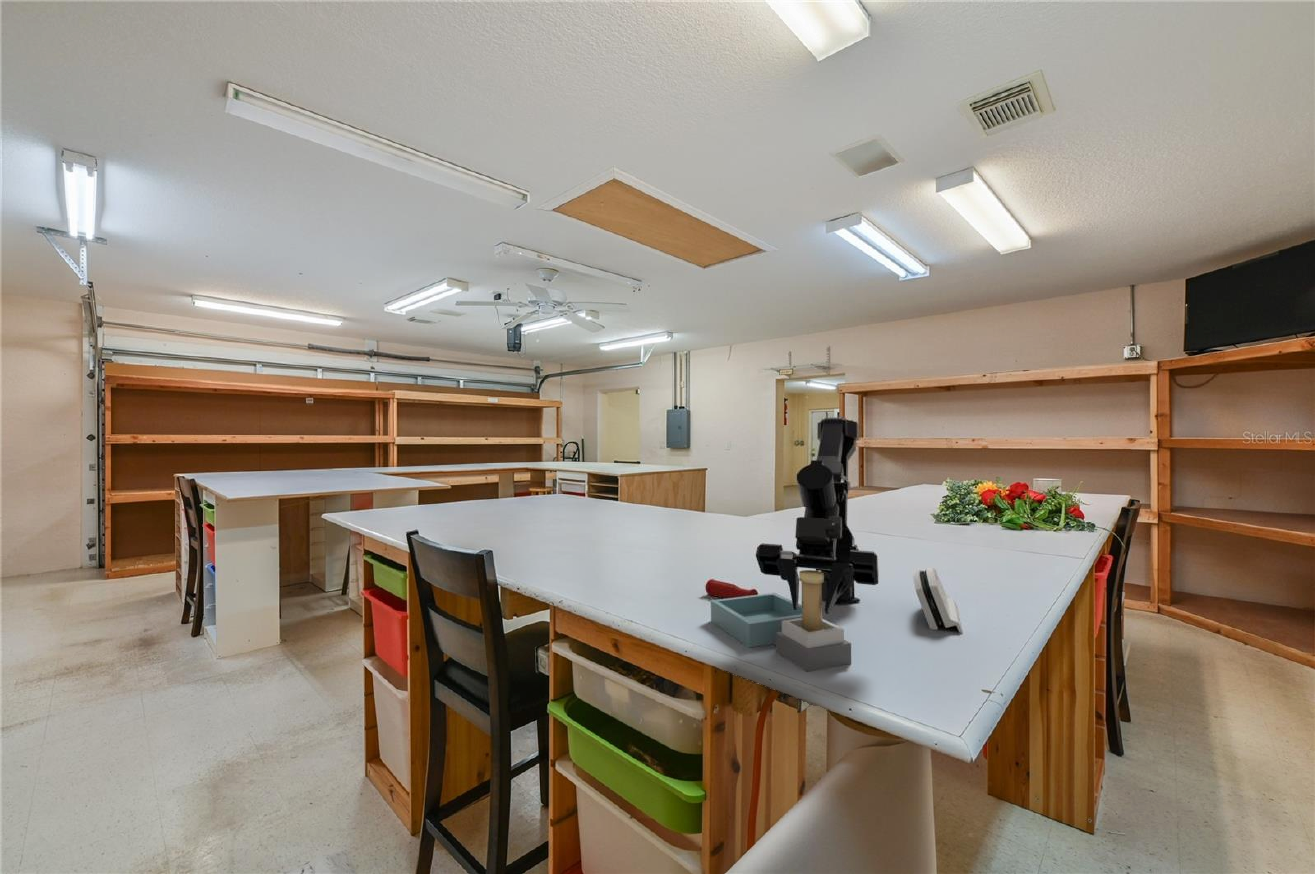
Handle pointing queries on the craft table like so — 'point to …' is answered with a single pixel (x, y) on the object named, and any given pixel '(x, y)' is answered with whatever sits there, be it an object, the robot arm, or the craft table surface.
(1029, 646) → the craft table surface
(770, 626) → the parts tray
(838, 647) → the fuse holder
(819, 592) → the cylinder
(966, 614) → the craft table surface
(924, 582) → the whiteboard eraser
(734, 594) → the red tapered rod
